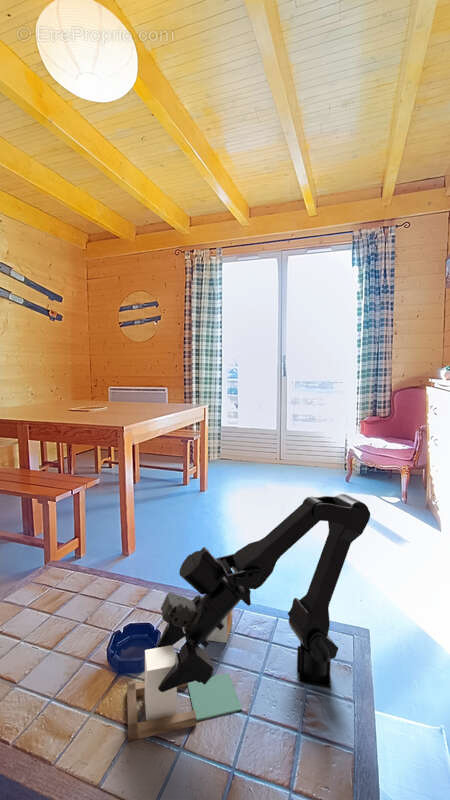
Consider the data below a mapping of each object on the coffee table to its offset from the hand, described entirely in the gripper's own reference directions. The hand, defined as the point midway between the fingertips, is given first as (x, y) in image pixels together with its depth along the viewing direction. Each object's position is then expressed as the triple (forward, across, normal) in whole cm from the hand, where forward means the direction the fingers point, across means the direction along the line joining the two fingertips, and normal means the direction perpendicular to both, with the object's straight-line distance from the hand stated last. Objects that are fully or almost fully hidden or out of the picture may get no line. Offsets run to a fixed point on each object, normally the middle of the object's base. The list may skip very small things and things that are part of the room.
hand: (157, 670), depth 70 cm
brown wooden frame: (+5, 0, +6) cm, 7 cm away
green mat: (-3, 0, +13) cm, 13 cm away
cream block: (+5, 0, +6) cm, 7 cm away
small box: (-7, -18, +18) cm, 26 cm away
